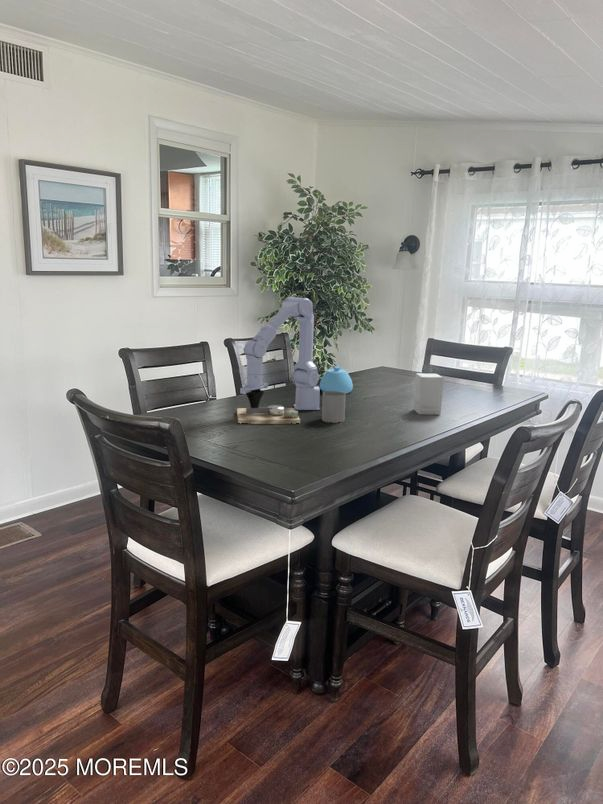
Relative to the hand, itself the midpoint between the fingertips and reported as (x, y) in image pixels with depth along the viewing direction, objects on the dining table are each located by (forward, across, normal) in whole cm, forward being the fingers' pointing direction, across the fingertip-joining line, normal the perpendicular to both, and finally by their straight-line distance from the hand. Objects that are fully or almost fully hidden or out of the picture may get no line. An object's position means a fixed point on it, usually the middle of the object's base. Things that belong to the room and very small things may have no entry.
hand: (254, 409), depth 221 cm
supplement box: (+3, -49, +49) cm, 69 cm away
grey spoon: (+1, -1, +4) cm, 4 cm away
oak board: (+3, -3, +4) cm, 6 cm away
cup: (+3, -15, +25) cm, 29 cm away
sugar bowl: (+3, -61, +1) cm, 61 cm away
